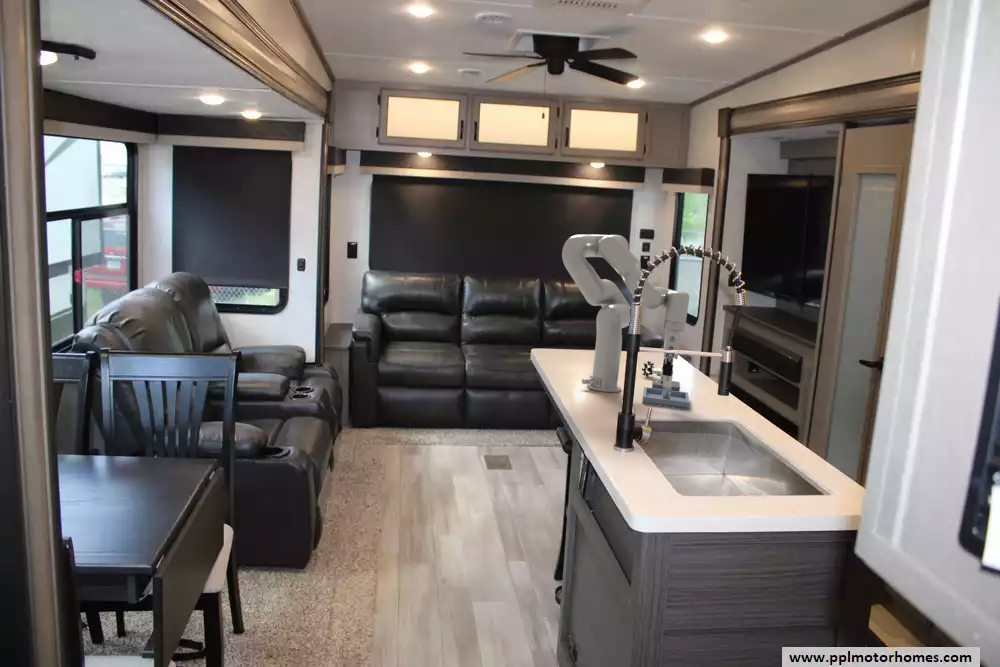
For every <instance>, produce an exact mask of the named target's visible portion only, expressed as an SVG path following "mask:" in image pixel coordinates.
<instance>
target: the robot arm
mask: <svg viewBox="0 0 1000 667" xmlns="http://www.w3.org/2000/svg"><path fill="white" fill-rule="evenodd" d="M561 252H562V253H561V258H562V262H563V265H564V267H565V269H566V270H567V272H568V274H569V275H570V276H571V278H572V280H573V282H574V283H575V285H576V286H577V288H578V289H579V291H580V292H581V294H582V295H583V297H584V299H585V301H586V302H587V303H588V304H589V305H591V306H594V307H596V306H599V307H600V306H601V308H600V310H599V311H598V313H597V315H596V321H595V323H596V324H595V325H596V339H595V340H596V341H595V348H594V355H593V356H594V359H593V367H592V374H591V375H590V376H589V377H588V378H582V379H581V384H583V385H586V386H587V388H589V389H590V390H594V391H597V392H604V393H618V392H620V391H621V390H622V386H620V384H618V382H619V380H618V379H619V373H620V363H621V355H622V347H623V346H622V344H623V334H622V333H623V331H622V329H624V328H627V327H628V326H630V324H629V322H630V309H632V307H631V305H630V304H629V303H628V300H627V299H626V297H625V295H623V293H622V291H621V290H620V289H619V287H618V286H617V284H616V283H615V282H613V281H611V280H609V279H606V278H604V279H601V278H600V276H599V275H598V273H597V272H596V270H595V268H594V266H592V264H590V262H588V260H587V259H586V258H603V259H604V260H605V261H606V262H607V263H608V264H609V265H610V266H611V267H612V268H613V270H615V271H616V273H617V274H618V275H620V277H621V278H622V280H623V282H624V284H625V286H626V288H627V290H628V291H629V293H630V294H631V295H632V296H633V295H634V291H635V287H636V284H637V281H638V280H639V279H640V277H641V272H642V268H641V262H640V260H639V259H638V258H637V257H636V256H635V254H633V253H632V252H631V251H630V249H629V242H628V240H627V239H626V238H625V237H624V236H623V235H619V234H609V235H608V234H575V235H572V236H570V237H568V239H567V240H566V241H565V243H564V245H563V247H562V251H561ZM642 300H643V303H642V304H641V305H642V306H643V307H644V308H645V309H647V310H657V309H663V308H664V309H665V312H664V319H663V325H662V329H663V330H665V335H664V344H663V362H662V366H663V373H662V374H663V375H665V376H672V370H673V371H674V364H673V363H674V360H678V357H679V353H678V354H675V353H666V352H664V350H678V351H679V350H680V344H681V337H682V333H684V332H685V329H686V323H687V316H688V310H689V303H690V295H689V293H688V292H685V291H682V290H681V291H680V290H673V289H670V288H667V287H665V286H656V287H654V286H653V285H652V283H650V282H649V281H648V279H646V282H645V285H644V288H643V292H642ZM672 377H673V376H672Z"/></svg>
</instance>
